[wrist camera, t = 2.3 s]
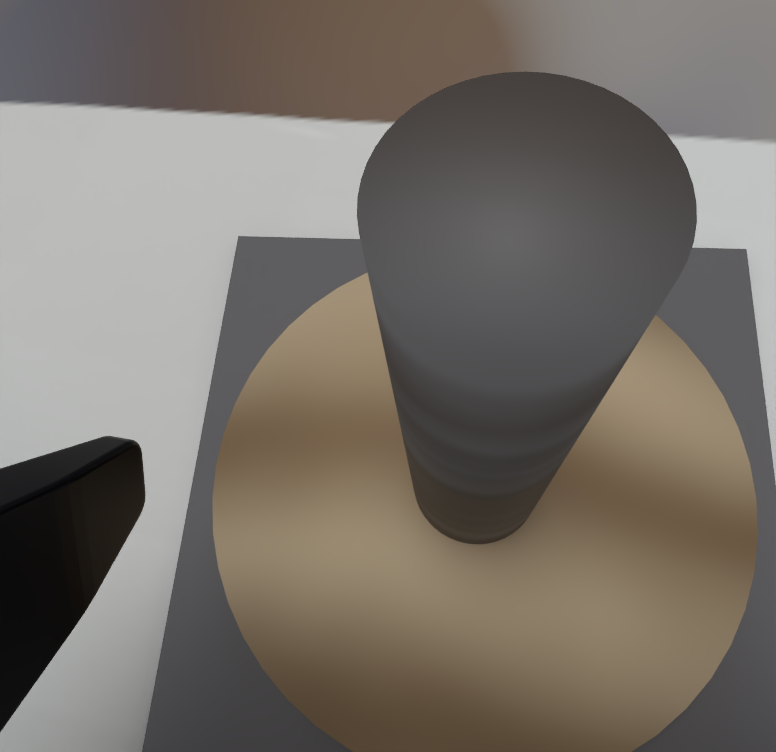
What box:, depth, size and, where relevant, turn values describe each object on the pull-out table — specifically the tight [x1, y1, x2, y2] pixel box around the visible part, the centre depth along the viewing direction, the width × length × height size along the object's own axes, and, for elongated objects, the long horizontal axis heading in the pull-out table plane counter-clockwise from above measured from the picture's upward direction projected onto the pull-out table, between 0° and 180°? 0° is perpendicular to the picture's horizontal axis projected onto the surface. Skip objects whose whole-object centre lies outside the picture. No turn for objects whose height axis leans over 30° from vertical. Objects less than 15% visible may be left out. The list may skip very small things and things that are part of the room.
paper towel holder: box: [212, 72, 758, 752], centre depth 12 cm, size 13×13×12 cm
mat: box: [142, 236, 776, 752], centre depth 18 cm, size 15×15×1 cm
